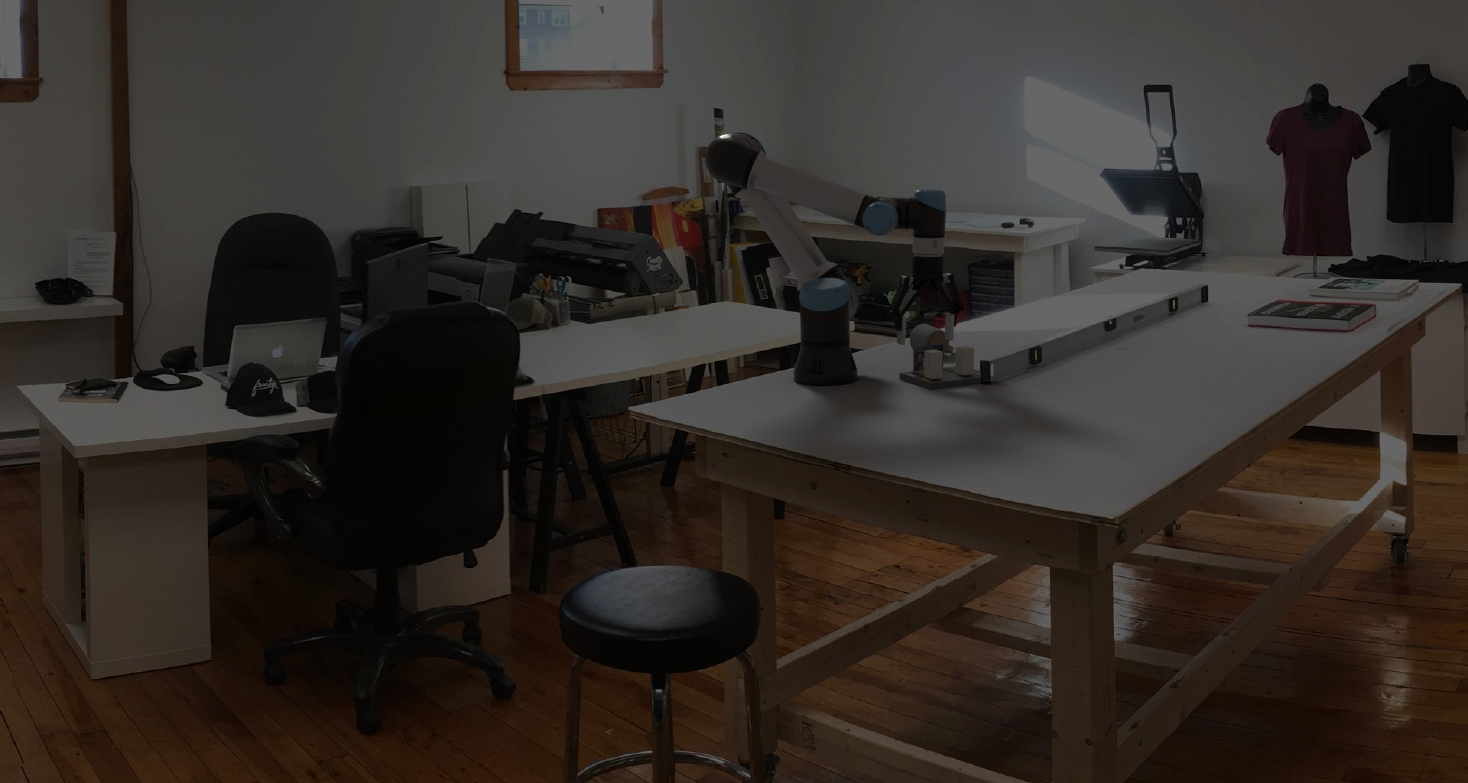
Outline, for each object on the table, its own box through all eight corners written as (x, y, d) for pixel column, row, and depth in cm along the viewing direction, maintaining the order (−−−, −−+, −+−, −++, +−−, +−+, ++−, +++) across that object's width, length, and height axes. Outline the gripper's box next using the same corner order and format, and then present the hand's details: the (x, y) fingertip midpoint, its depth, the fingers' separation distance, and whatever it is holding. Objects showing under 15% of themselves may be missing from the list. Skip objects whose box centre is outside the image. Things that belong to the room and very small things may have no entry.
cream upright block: (931, 379, 294) (931, 352, 293) (924, 376, 297) (924, 350, 295) (942, 377, 295) (942, 351, 294) (935, 375, 298) (935, 349, 297)
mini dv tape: (917, 373, 311) (917, 348, 310) (913, 372, 313) (913, 347, 311) (943, 368, 316) (943, 344, 314) (939, 367, 317) (939, 343, 315)
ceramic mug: (928, 358, 328) (928, 329, 327) (908, 354, 335) (909, 324, 334) (961, 354, 333) (961, 325, 332) (941, 350, 340) (941, 321, 339)
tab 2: (962, 375, 297) (962, 349, 296) (955, 373, 300) (955, 347, 299) (973, 373, 298) (973, 348, 297) (966, 371, 301) (966, 346, 300)
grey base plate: (931, 389, 292) (931, 383, 291) (899, 379, 304) (899, 372, 304) (994, 381, 298) (994, 375, 298) (960, 371, 311) (960, 365, 310)
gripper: (890, 258, 300) (888, 348, 305) (981, 254, 310) (977, 340, 314) (874, 255, 307) (872, 342, 311) (963, 250, 316) (960, 335, 321)
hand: (925, 342), depth 313 cm, fingers open, 13 cm apart
